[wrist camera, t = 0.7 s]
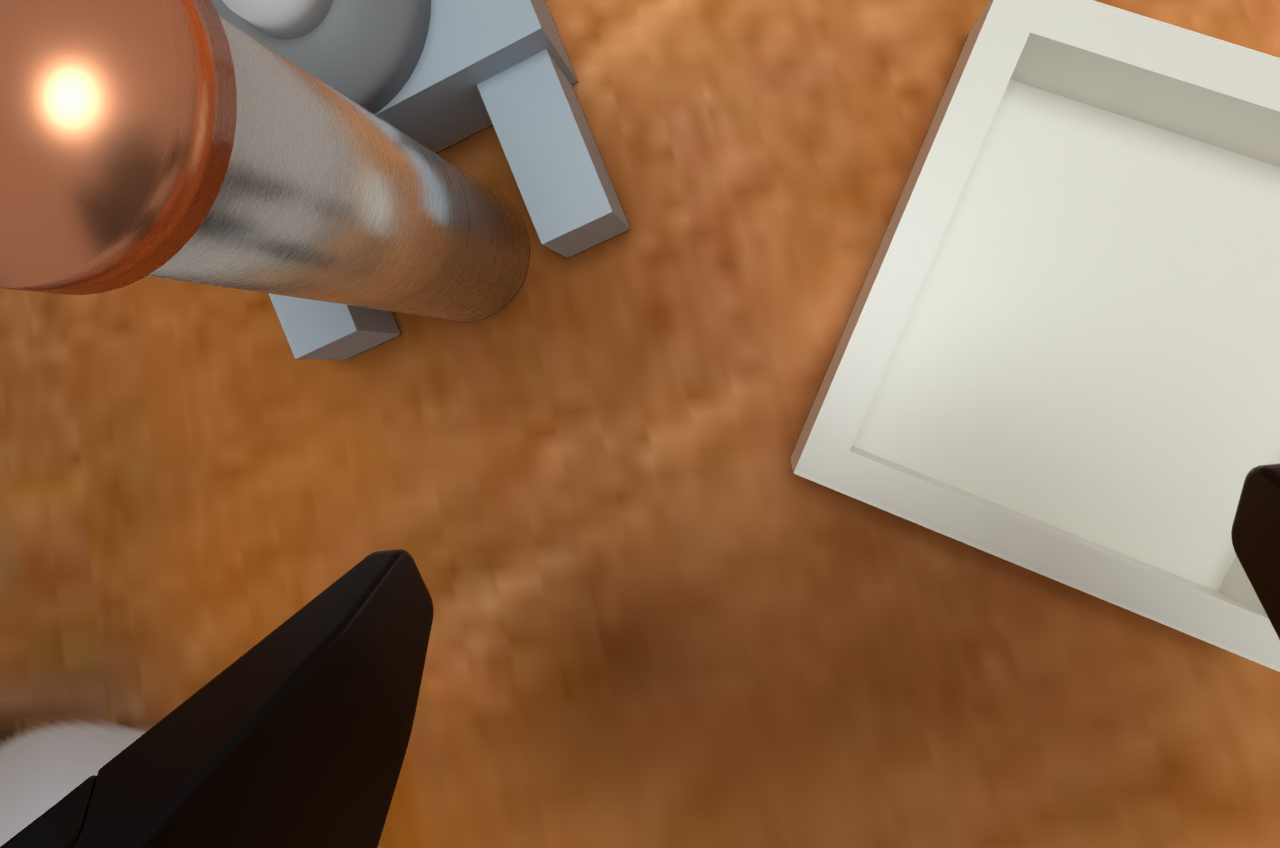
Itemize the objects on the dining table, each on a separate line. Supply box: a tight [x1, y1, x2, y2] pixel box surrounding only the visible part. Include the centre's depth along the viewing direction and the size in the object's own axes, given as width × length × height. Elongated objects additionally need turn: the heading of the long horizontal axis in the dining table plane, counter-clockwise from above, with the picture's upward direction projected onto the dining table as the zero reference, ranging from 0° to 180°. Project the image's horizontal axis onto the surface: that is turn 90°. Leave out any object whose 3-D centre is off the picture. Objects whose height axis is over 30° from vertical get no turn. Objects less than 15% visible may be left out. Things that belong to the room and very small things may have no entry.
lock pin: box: [0, 0, 530, 321], centre depth 16 cm, size 5×5×14 cm
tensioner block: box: [211, 0, 630, 360], centre depth 20 cm, size 10×10×6 cm
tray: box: [790, 0, 1280, 672], centre depth 18 cm, size 12×12×3 cm
